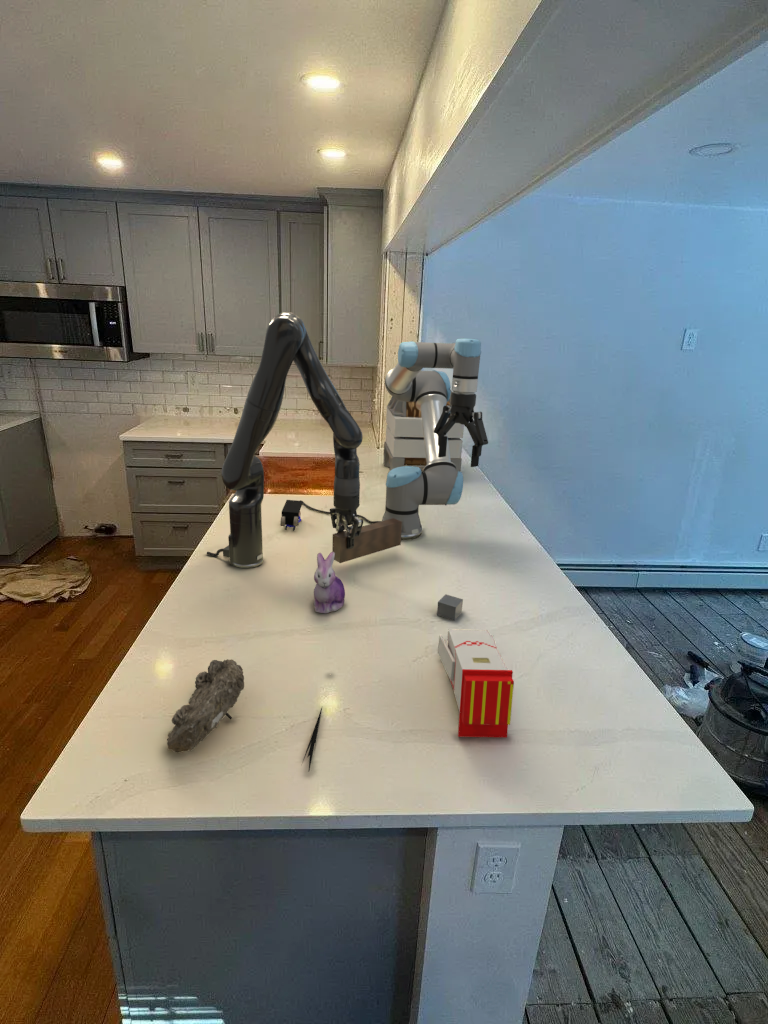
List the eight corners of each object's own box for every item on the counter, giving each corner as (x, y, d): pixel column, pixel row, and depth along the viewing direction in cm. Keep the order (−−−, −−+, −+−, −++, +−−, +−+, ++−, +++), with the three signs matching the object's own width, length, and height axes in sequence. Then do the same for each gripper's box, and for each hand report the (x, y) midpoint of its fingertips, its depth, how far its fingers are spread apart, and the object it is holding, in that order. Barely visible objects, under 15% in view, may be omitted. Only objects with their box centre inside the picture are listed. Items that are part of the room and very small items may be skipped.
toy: (488, 613, 130) (523, 677, 101) (484, 667, 133) (517, 744, 104) (435, 612, 130) (455, 676, 101) (432, 666, 133) (451, 743, 103)
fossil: (192, 660, 117) (244, 628, 112) (224, 691, 120) (276, 661, 115) (142, 746, 98) (202, 712, 93) (182, 779, 101) (242, 748, 96)
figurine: (319, 618, 143) (319, 564, 138) (305, 600, 152) (304, 548, 147) (353, 610, 148) (354, 558, 143) (337, 593, 156) (338, 543, 151)
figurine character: (299, 536, 197) (303, 517, 210) (298, 517, 193) (303, 498, 207) (279, 536, 197) (285, 516, 210) (278, 516, 193) (285, 497, 207)
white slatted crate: (382, 463, 289) (386, 382, 275) (445, 464, 293) (451, 384, 279) (390, 482, 257) (394, 392, 243) (460, 483, 261) (468, 394, 247)
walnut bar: (340, 563, 167) (340, 538, 164) (332, 558, 170) (332, 534, 167) (400, 544, 182) (401, 521, 179) (392, 540, 185) (393, 518, 182)
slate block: (436, 615, 148) (437, 601, 146) (444, 607, 152) (445, 594, 151) (454, 620, 146) (455, 607, 144) (461, 612, 150) (463, 599, 148)
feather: (331, 679, 122) (336, 673, 122) (307, 777, 96) (313, 769, 95) (324, 675, 122) (329, 669, 121) (298, 772, 95) (304, 764, 95)
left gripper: (321, 486, 166) (321, 540, 172) (351, 499, 156) (349, 556, 162) (342, 482, 171) (341, 535, 177) (372, 495, 161) (370, 550, 166)
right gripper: (425, 387, 176) (421, 454, 183) (488, 399, 158) (480, 472, 166) (442, 386, 181) (437, 451, 188) (505, 397, 163) (497, 468, 170)
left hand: (345, 545), depth 169 cm, fingers closed on walnut bar, 4 cm apart
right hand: (457, 461), depth 177 cm, fingers open, 13 cm apart
